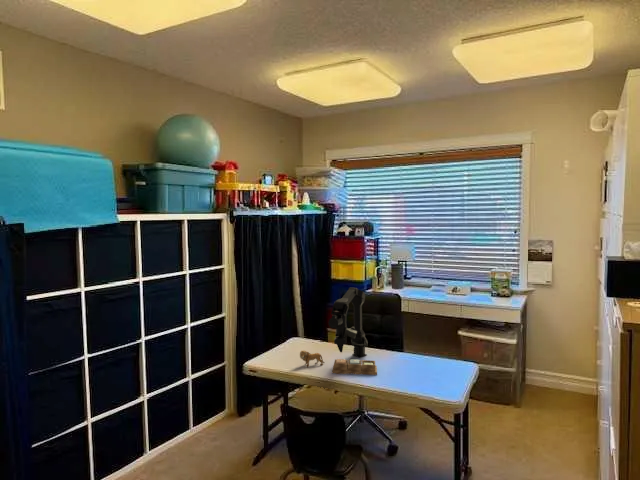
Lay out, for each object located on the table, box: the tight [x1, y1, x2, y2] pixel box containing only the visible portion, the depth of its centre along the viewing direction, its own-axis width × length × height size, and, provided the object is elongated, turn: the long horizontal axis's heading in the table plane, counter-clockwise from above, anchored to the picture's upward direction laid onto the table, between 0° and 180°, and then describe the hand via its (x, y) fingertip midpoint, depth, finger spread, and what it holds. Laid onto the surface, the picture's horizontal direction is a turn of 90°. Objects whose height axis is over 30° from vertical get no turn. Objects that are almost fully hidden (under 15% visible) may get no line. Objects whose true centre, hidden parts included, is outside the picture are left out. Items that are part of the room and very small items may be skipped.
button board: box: [331, 359, 378, 376], centre depth 242 cm, size 24×10×5 cm, turn 84°
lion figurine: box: [299, 349, 325, 367], centre depth 251 cm, size 15×5×9 cm, turn 109°
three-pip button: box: [335, 358, 347, 364], centre depth 242 cm, size 5×5×2 cm
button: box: [349, 359, 360, 364], centre depth 242 cm, size 5×5×2 cm
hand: (341, 352), depth 242 cm, fingers closed
